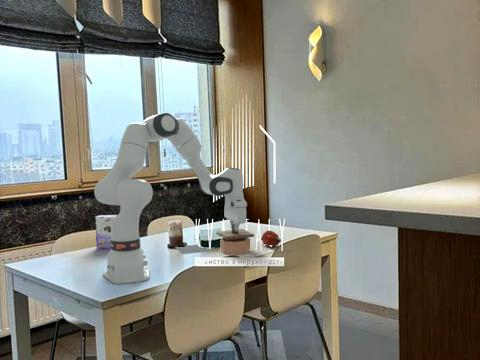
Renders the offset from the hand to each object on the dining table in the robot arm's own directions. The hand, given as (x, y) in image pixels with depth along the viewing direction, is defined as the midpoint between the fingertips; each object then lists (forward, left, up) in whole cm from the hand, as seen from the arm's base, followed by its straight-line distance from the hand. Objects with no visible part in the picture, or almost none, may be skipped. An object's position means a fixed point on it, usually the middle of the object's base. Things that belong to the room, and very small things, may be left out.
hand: (234, 229), depth 235 cm
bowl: (0, 0, -10) cm, 10 cm away
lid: (0, 0, -3) cm, 3 cm away
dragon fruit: (+2, -20, -11) cm, 23 cm away
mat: (+12, +17, -10) cm, 23 cm away
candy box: (+34, +54, -11) cm, 65 cm away
